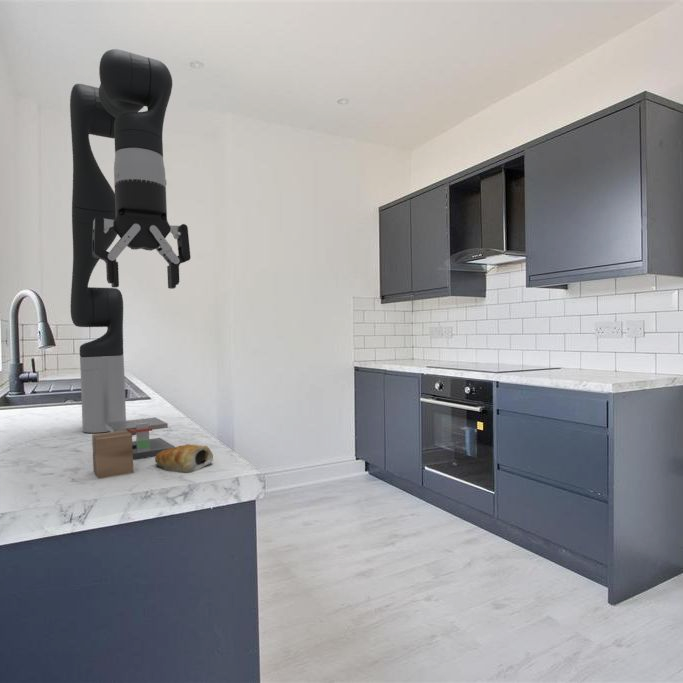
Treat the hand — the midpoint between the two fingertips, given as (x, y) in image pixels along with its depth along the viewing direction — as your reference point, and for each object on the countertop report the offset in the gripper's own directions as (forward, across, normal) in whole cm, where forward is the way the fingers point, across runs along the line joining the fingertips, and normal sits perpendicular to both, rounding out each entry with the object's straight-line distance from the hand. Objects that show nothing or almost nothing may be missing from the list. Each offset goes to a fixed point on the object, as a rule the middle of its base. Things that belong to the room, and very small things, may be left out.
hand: (144, 287), depth 77 cm
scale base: (+29, -1, -15) cm, 33 cm away
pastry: (+29, -5, +1) cm, 30 cm away
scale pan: (+25, -1, -14) cm, 29 cm away
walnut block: (+29, +5, -3) cm, 30 cm away
